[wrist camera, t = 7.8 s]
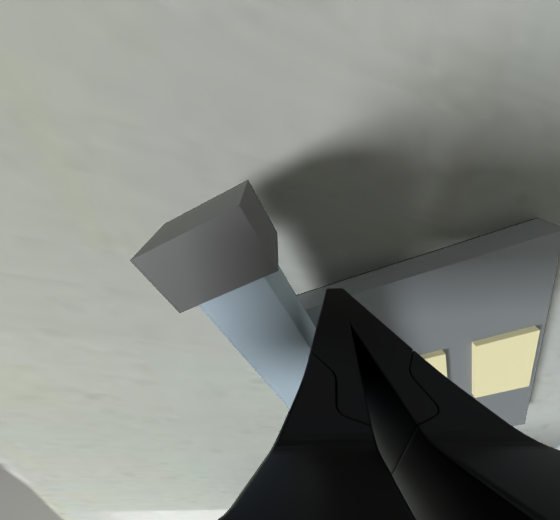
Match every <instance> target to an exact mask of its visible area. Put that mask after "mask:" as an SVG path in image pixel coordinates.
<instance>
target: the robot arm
mask: <svg viewBox="0 0 560 520" xmlns="http://www.w3.org/2000/svg"><path fill="white" fill-rule="evenodd" d="M218 520H560V450H557V449H554V448H552V447H549V446H547V445H545V444H542V443H540V442H538V441H536V440H534V439H532V438H530V437H529V436H527V435H525V434H524V433H522V432H520V431H519V430H517V429H516V428H514V427H513V426H511V425H510V424H509V423H507V422H506V421H504V420H503V419H502V418H500V417H499V416H498V415H496V414H495V413H494V412H492V411H491V410H490V409H488V408H487V407H486V406H484V405H483V404H482V403H480V402H479V401H478V400H476V399H475V398H474V397H472V396H471V395H469V394H468V393H467V392H465V391H464V390H463V389H461V388H460V387H459V386H457V385H456V384H455V383H454V382H452V381H451V380H450V379H448V378H447V377H446V376H444V375H443V374H442V373H441V372H439V371H438V370H437V369H436V368H435V367H433V366H432V365H431V364H430V363H429V362H427V361H426V360H425V359H424V358H423V357H421V356H420V355H419V354H418V353H417V352H416V351H413V349H412V348H411V347H410V346H409V345H408V344H406V343H405V342H404V341H403V340H402V339H401V338H400V337H398V336H397V335H396V334H395V333H394V332H393V331H391V330H390V329H389V328H388V327H387V326H386V325H385V324H383V323H382V322H381V321H380V320H379V319H378V318H377V317H375V316H374V315H373V314H372V313H371V312H370V311H368V310H367V309H366V308H365V307H364V306H363V305H362V304H360V303H359V302H358V301H357V300H356V299H355V298H354V297H352V296H351V295H350V294H349V293H348V292H347V291H346V290H344V289H343V288H327V289H326V290H325V294H324V298H323V302H322V306H321V310H320V314H319V318H318V322H317V326H316V330H315V334H314V338H313V342H312V346H311V350H310V354H309V358H308V362H307V365H306V369H305V372H304V375H303V378H302V381H301V383H300V386H299V389H298V391H297V394H296V396H295V398H294V401H293V403H292V405H291V408H290V410H289V412H288V414H287V417H286V419H285V421H284V424H283V426H282V428H281V431H280V433H279V435H278V437H277V439H276V441H275V443H274V445H273V447H272V449H271V450H270V452H269V454H268V455H267V457H266V458H265V459H264V461H263V462H262V464H261V465H260V466H259V468H258V469H257V471H256V472H255V474H254V475H253V476H252V478H251V479H250V481H249V482H248V484H247V485H246V486H245V488H244V489H243V491H242V492H241V494H240V495H239V496H238V498H237V499H236V501H235V502H234V503H233V505H232V506H231V508H230V509H229V510H228V511H227V512H226V513H225V514H224V515H223V516H222V517H221V518H219V519H218Z"/></svg>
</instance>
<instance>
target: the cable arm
mask: <svg viewBox="0 0 560 520" xmlns="http://www.w3.org/2000/svg"><path fill="white" fill-rule="evenodd" d="M130 261H131V262H132V263H133V264H134V265H135V266H136V267H137V268H138V269H139V271H140V272H141V273H142V274H143V275H144V276H145V277H146V278H147V279H148V280H149V281H150V282H151V283H152V284H153V285H154V286H155V287H156V289H157V290H158V291H159V292H160V293H161V294H162V295H163V296H164V297H165V298H166V299H167V300H168V301H169V302H170V303H171V304H172V305H173V306H174V308H175V309H176V310H177V311H178V312H179V313H181V312H184V311H186V310H188V309H191V308H193V307H195V306H199V307H200V308H201V309H202V310H203V311H204V312H205V314H206V315H207V316H208V317H209V318H210V319H211V320H212V322H213V323H214V324H215V325H216V326H217V327H218V328H219V330H220V331H221V332H222V333H223V334H224V335H225V336H226V337H227V339H228V340H229V341H230V342H231V343H232V344H233V345H234V347H235V348H236V349H237V350H238V351H239V352H240V353H241V355H242V356H243V357H244V358H245V359H246V360H247V361H248V363H249V364H250V365H251V366H252V367H253V368H254V369H255V371H256V372H257V373H258V374H259V375H260V376H261V377H262V379H263V380H264V381H265V382H266V383H267V384H268V385H269V387H270V388H271V389H272V390H273V391H274V392H275V393H276V395H277V396H278V397H279V398H280V399H281V400H282V401H283V403H284V404H285V405H286V406H287V407H288V408H289V409H290V408H291V405H292V403H293V401H294V398H295V396H296V394H297V391H298V389H299V386H300V383H301V381H302V378H303V375H304V372H305V369H306V365H307V362H308V358H309V354H310V350H311V346H312V342H313V338H314V334H315V330H316V328H315V326H314V324H313V322H312V321H311V319H310V317H309V316H308V314H307V312H306V311H305V309H304V307H303V306H302V304H301V302H300V301H299V299H298V297H297V296H296V294H295V292H294V290H293V289H292V287H291V285H290V284H289V282H288V280H287V279H286V277H285V275H284V274H283V272H282V270H281V269H280V267H279V265H278V241H277V231H276V230H275V228H274V226H273V224H272V222H271V220H270V219H269V217H268V215H267V213H266V211H265V210H264V208H263V206H262V204H261V202H260V201H259V199H258V197H257V195H256V193H255V191H254V190H253V188H252V186H251V184H250V182H249V181H248V180H247V181H245V182H243V183H241V184H239V185H237V186H235V187H233V188H231V189H230V190H228V191H226V192H224V193H222V194H220V195H218V196H216V197H214V198H213V199H211V200H209V201H207V202H205V203H203V204H201V205H199V206H197V207H195V208H194V209H192V210H190V211H188V212H186V213H184V214H182V215H180V216H178V217H177V218H175V219H173V220H171V221H169V222H167V223H165V224H164V225H163V226H162V227H161V228H160V229H159V230H158V231H157V233H156V234H155V235H154V236H153V237H152V238H151V239H150V240H149V241H148V242H147V243H146V244H145V245H144V246H143V247H142V248H141V249H140V251H139V252H138V253H137V254H136V255H135V256H134V257H133V258H132V259H131V260H130Z"/></svg>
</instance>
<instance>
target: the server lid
mask: <svg viewBox="0 0 560 520" xmlns="http://www.w3.org/2000/svg"><path fill="white" fill-rule="evenodd" d="M559 257H560V227H559V226H556V225H554V224H551V223H549V222H547V221H544V220H542V219H539V218H537V219H534V220H530V221H527V222H524V223H521V224H518V225H515V226H512V227H509V228H506V229H502V230H499V231H496V232H493V233H490V234H487V235H484V236H481V237H477V238H474V239H471V240H468V241H465V242H462V243H459V244H456V245H453V246H449V247H446V248H443V249H440V250H437V251H434V252H431V253H428V254H424V255H421V256H418V257H415V258H412V259H409V260H406V261H403V262H400V263H396V264H393V265H390V266H387V267H384V268H381V269H378V270H375V271H371V272H368V273H365V274H362V275H359V276H356V277H353V278H350V279H347V280H343V281H340V282H337V283H334V284H331V285H328V286H325V287H322V288H319V289H315V290H312V291H309V292H306V293H303V294H300V295H297V297H298V299H299V301H300V302H301V304H302V306H303V307H304V309H305V311H306V312H307V314H308V316H309V317H310V319H311V321H312V322H313V324H314V326H315V328H316V326H317V322H318V318H319V314H320V310H321V306H322V302H323V298H324V294H325V290H326V289H327V288H343V289H344V290H346V291H347V292H348V293H349V294H350V295H351V296H352V297H354V298H355V299H356V300H357V301H358V302H359V303H360V304H362V305H363V306H364V307H365V308H366V309H367V310H368V311H370V312H371V313H372V314H373V315H374V316H375V317H377V318H378V319H379V320H380V321H381V322H382V323H383V324H385V325H386V326H387V327H388V328H389V329H390V330H391V331H393V332H394V333H395V334H396V335H397V336H398V337H400V338H401V339H402V340H403V341H404V342H405V343H406V344H408V345H409V346H410V347H411V348H412V349H413V351H416V352H417V353H418V354H419V355H420V356H421V357H423V358H424V359H425V360H426V361H427V362H429V363H430V364H431V365H432V366H433V367H435V368H436V369H437V370H438V371H439V372H441V373H442V374H443V375H444V376H446V377H447V378H448V379H450V380H451V381H452V382H454V383H455V384H456V385H457V386H459V387H460V388H461V389H463V390H464V391H465V392H467V393H468V394H469V395H471V396H472V397H474V398H475V399H476V400H478V401H479V402H480V403H482V404H483V405H484V406H486V407H487V408H488V409H490V410H491V411H492V412H494V413H495V414H496V415H498V416H499V417H500V418H502V419H503V420H504V421H506V422H507V423H509V424H510V425H511V426H516V425H521V424H525V420H526V415H527V410H528V405H529V401H530V396H531V391H532V386H533V381H534V377H535V372H536V367H537V362H538V357H539V353H540V348H541V343H542V338H543V334H544V329H545V324H546V319H547V314H548V310H549V305H550V300H551V295H552V291H553V286H554V281H555V276H556V271H557V267H558V262H559Z"/></svg>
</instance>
